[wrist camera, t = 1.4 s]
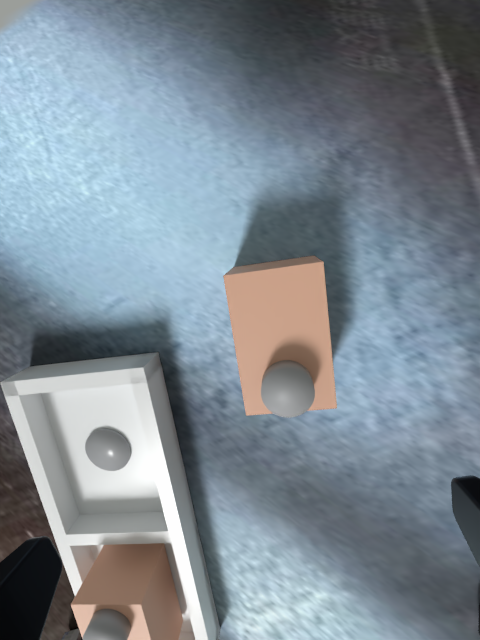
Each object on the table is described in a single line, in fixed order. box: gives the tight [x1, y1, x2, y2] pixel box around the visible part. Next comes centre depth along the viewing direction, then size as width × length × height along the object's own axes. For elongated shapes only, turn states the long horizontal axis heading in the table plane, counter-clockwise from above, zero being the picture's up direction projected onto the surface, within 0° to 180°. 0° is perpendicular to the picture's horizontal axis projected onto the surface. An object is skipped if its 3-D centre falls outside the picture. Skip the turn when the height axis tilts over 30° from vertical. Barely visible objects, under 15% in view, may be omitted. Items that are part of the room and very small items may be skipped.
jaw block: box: [223, 256, 337, 417], centre depth 17 cm, size 4×7×5 cm, turn 9°
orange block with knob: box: [71, 543, 183, 640], centre depth 22 cm, size 4×7×5 cm, turn 9°
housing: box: [0, 352, 220, 640], centre depth 23 cm, size 9×23×2 cm, turn 9°
